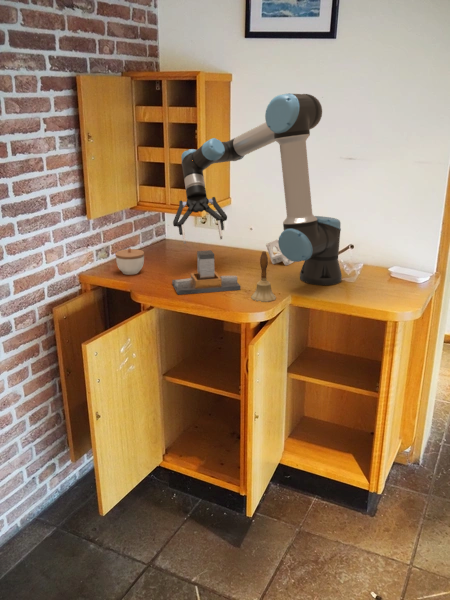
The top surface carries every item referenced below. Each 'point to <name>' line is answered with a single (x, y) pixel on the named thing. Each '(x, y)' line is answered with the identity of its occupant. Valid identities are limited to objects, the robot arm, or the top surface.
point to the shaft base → (205, 284)
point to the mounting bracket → (278, 256)
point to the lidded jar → (130, 260)
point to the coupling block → (205, 265)
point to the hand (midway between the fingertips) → (203, 240)
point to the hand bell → (263, 283)
